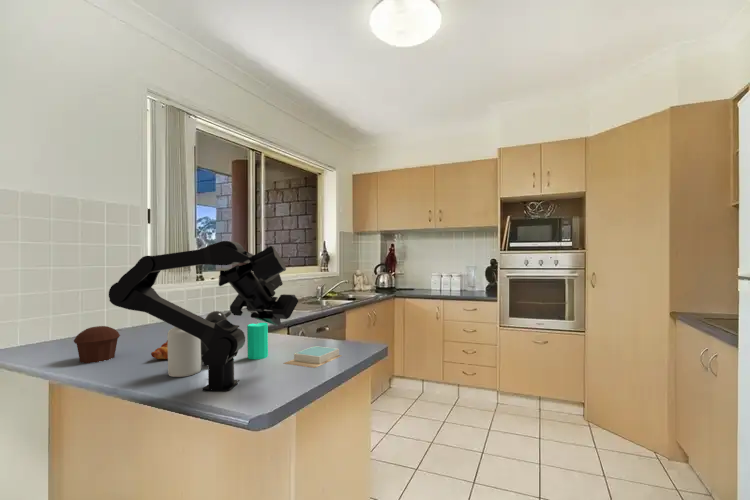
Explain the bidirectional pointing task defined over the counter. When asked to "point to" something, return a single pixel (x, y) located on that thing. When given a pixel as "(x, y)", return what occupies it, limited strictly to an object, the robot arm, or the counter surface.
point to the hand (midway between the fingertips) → (278, 324)
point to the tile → (316, 354)
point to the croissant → (161, 352)
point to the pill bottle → (183, 353)
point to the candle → (257, 340)
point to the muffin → (96, 344)
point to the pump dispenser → (213, 318)
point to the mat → (307, 364)
